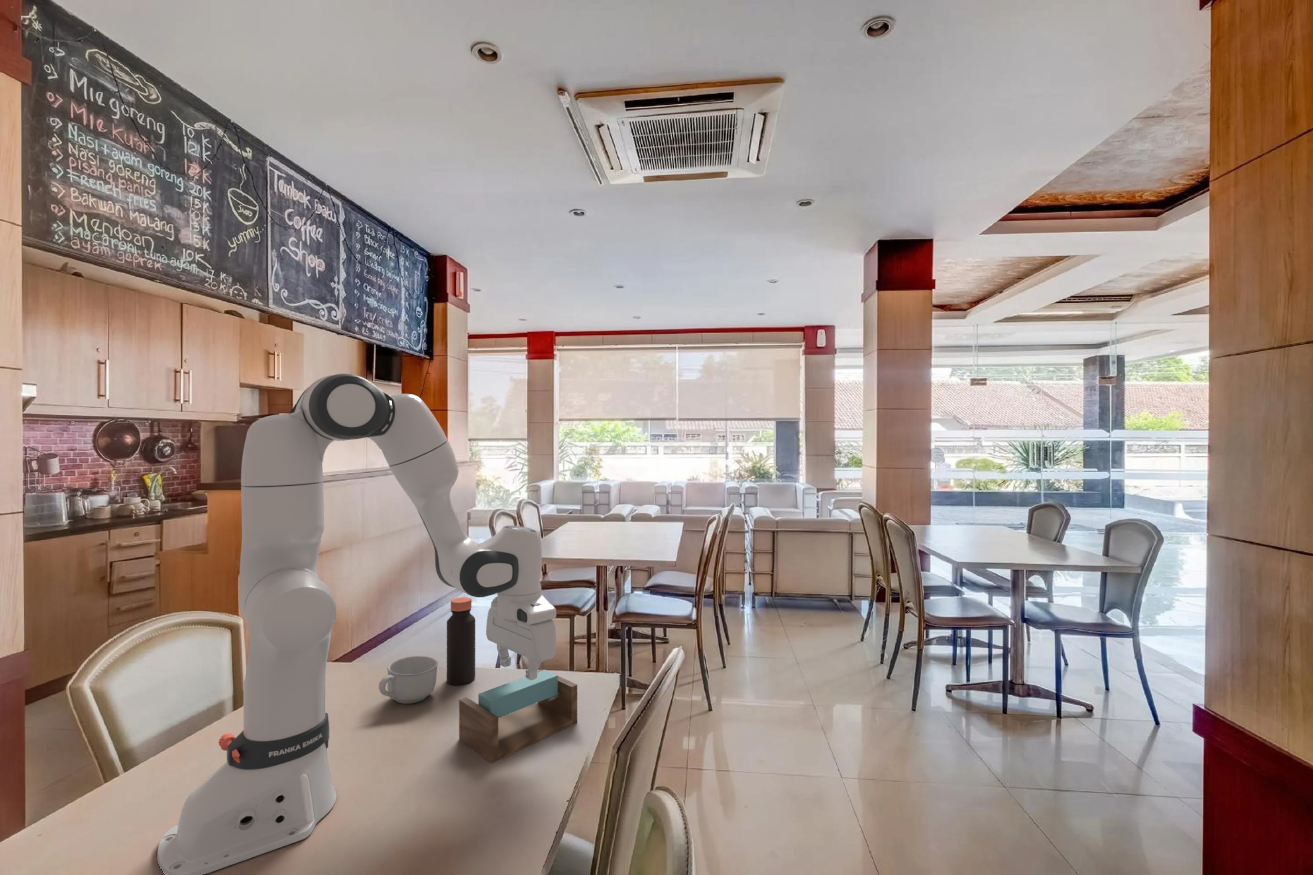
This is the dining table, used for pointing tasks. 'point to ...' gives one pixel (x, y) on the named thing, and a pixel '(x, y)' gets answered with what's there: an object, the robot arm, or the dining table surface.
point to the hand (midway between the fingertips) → (518, 671)
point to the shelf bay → (516, 723)
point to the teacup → (410, 679)
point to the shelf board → (519, 694)
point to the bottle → (460, 643)
